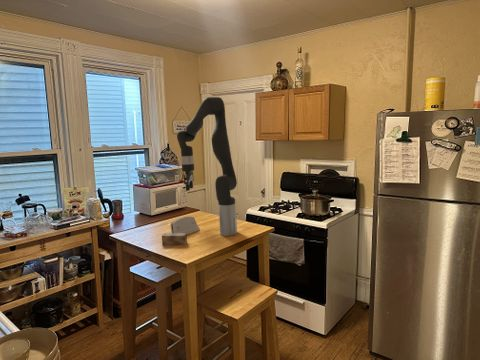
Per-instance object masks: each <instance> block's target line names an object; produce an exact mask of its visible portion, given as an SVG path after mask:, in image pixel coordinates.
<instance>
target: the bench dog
mask: <svg viewBox="0 0 480 360" xmlns="http://www.w3.org/2000/svg"><path fill="white" fill-rule="evenodd" d="M187 235H188V234H186V233H172V232H170V233H168V232H166V233H165V232H164V233H163V234H162V235H161V243H162V246H186V244H187V243H188V237H187Z"/></svg>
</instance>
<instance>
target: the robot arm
mask: <svg viewBox="0 0 480 360" xmlns="http://www.w3.org/2000/svg"><path fill="white" fill-rule="evenodd" d="M207 116H214V119H215V125H214V129H213V133H212V135H211V146H212V152H213V154H214V156H215V158H216V159H217V161H218V163H219V164H220V167H221V170H222V175H219V176H217V177H216V179H215V183H214V184H215V194H216V200H217V202H218V218H219V235H221V236H223V237H232V236H236V235H237V233H238V221H237V215H236V214H237V213H236V212H237V211H236V199H235V197H233V196H231V191H233V190H235V188H237V184H238V180H237V176H236V173H235V169H234V165H233V161H232V154H231V147H230V141H229V136H228V130H227V120H226V108H225V102H224V100H223V98H222V97H218V96H214V97H213V96H210V97H205V98H204V99H203V101H201V104H200V106H199V107H198V109H197V111H196V112H195V115H194V117H193V118H192V119H191V120H190V121H189V123H188V124H187V125H186V126H185V130H182V129H181V130H179V131H178V132H177V134H176V139H177V142H178V145H179V149H180V154H181V156H180V157H181V158H180V159H181V172H184V174H183V184H184V185H185V191H186V192H188V191H190V190H191V189H193V188H194V181H195V178H194V171H195V160H194V158H195V157H194V152H193V147H192V145H187V143H190V142H193V141H194V140H195V138H196V136H197V134H198V132H200V130H201V129H202V128H203V125H204V120H205V118H206V117H207Z"/></svg>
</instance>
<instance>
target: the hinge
mask: <svg viewBox="0 0 480 360" xmlns="http://www.w3.org/2000/svg"><path fill="white" fill-rule="evenodd" d="M170 231H171V232H170V233H186V234H187V235H189V234H192V233H196V232H198V231H200V227H199V225H198V223H197V221H196V218H195V217H194V216H183V217H180V218H177V219H175V220H173V221H172V222H171V223H170Z"/></svg>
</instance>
